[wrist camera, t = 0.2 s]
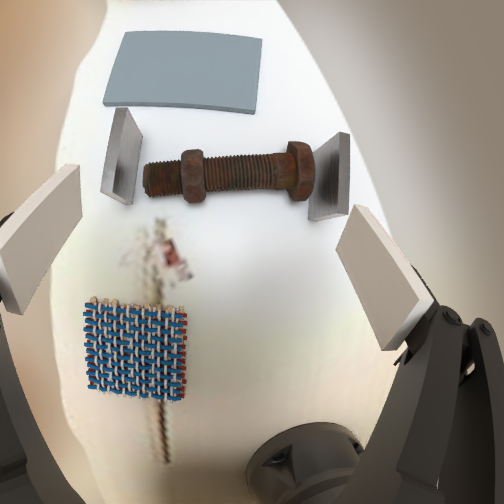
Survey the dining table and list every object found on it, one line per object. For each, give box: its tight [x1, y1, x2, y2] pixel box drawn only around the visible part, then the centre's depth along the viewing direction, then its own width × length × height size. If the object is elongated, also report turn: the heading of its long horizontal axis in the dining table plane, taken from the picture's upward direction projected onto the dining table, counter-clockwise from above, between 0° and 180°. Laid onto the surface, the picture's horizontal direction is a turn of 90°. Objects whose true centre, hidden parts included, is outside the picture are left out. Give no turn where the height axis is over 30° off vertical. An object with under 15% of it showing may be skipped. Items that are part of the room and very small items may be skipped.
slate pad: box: [103, 31, 262, 114], centre depth 27 cm, size 10×16×1 cm, turn 85°
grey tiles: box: [100, 108, 350, 221], centre depth 25 cm, size 7×19×7 cm, turn 85°
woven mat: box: [83, 297, 187, 403], centre depth 27 cm, size 10×11×2 cm
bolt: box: [143, 141, 316, 203], centre depth 27 cm, size 6×5×15 cm
